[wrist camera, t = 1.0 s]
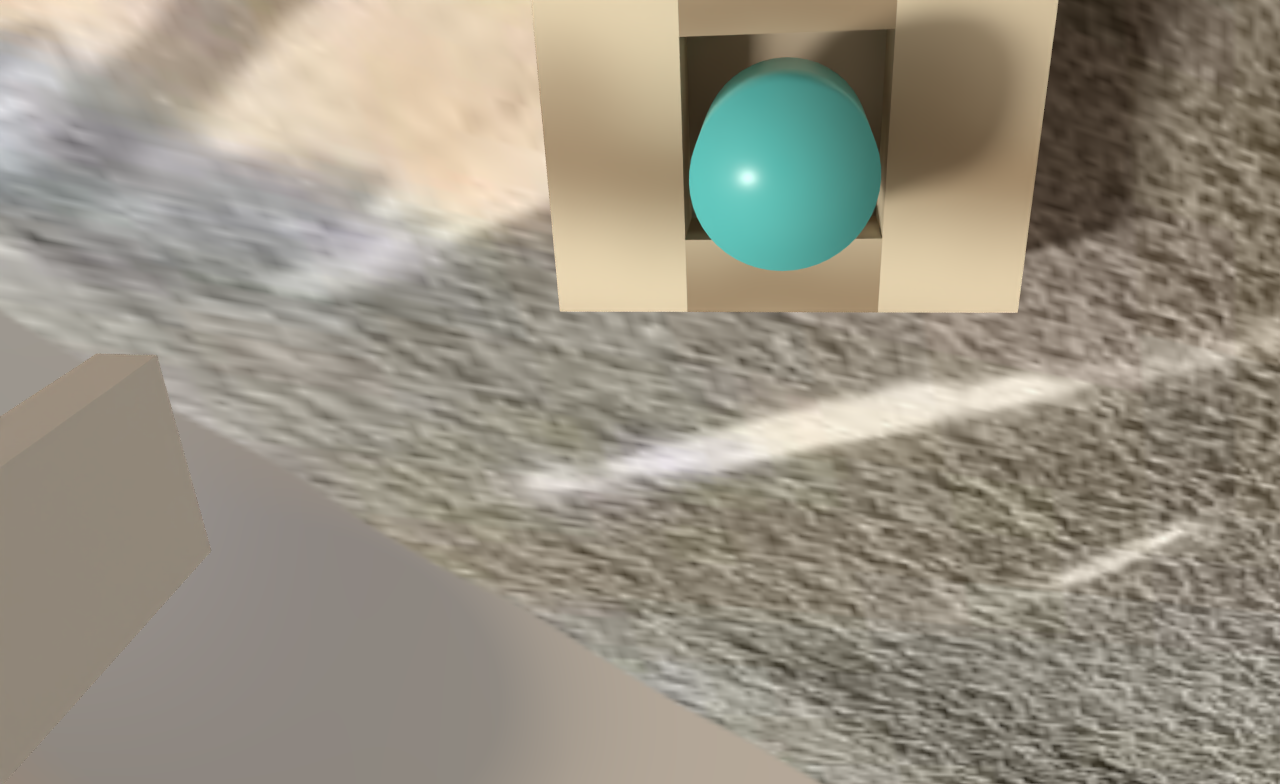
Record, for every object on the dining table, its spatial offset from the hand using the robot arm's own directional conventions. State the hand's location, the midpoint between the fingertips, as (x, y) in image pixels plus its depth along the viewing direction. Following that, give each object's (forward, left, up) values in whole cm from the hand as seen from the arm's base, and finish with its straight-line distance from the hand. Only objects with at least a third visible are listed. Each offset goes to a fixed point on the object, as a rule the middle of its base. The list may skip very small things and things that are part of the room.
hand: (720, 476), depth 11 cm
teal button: (0, +1, -15) cm, 15 cm away
